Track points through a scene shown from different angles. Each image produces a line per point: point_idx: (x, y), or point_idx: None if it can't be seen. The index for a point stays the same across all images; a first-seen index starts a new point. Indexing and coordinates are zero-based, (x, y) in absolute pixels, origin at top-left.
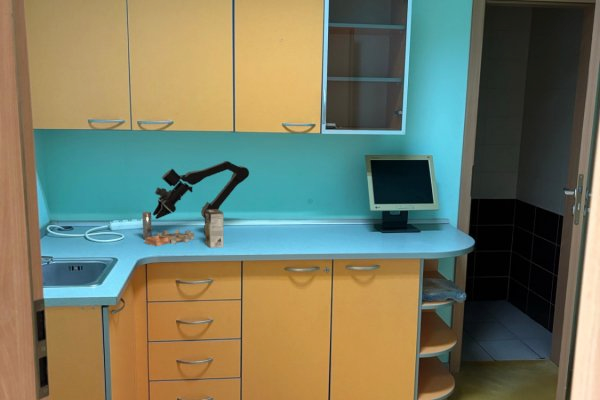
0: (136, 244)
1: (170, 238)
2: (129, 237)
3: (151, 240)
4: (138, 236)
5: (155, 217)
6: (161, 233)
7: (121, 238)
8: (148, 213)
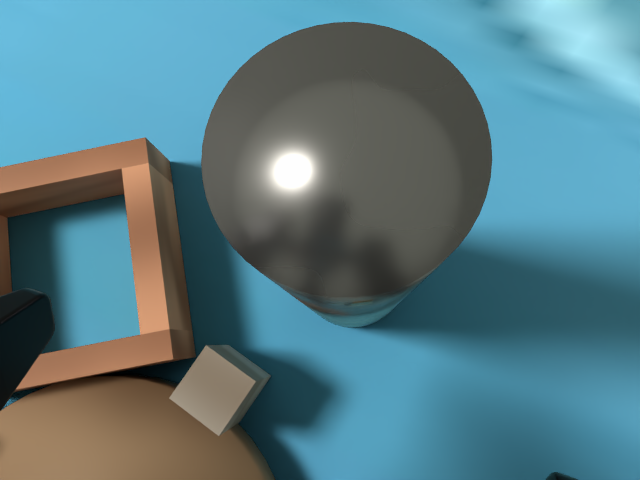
0: (186, 72)
1: (22, 446)
2: (572, 139)
3: (21, 167)
4: (567, 248)
5: (22, 289)
6: (187, 410)
7: (571, 49)
8: (205, 158)
